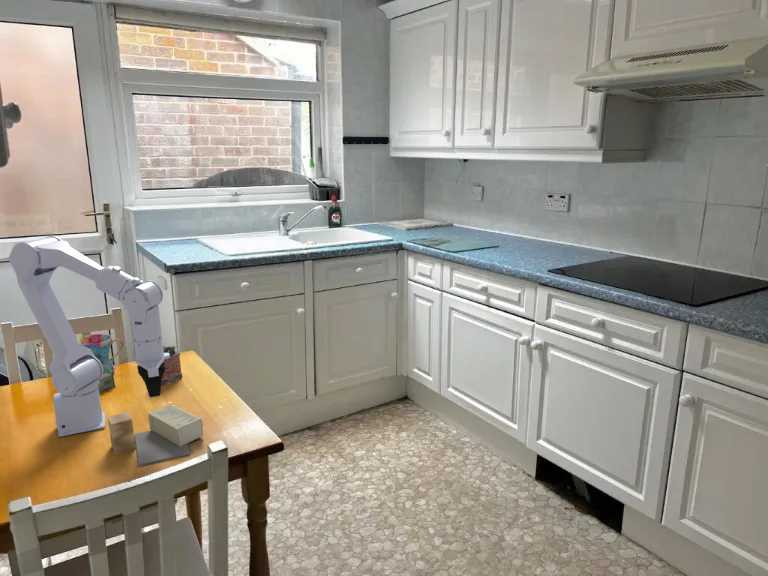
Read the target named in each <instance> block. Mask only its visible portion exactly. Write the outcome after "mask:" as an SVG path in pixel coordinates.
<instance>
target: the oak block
mask: <svg viewBox="0 0 768 576" xmlns="http://www.w3.org/2000/svg"><path fill="white" fill-rule="evenodd" d="M107 423H108V429H109V431H108V432H109V436H110V443H111V444H110V445H111V448H112V450H113V452H114V453H115V455H119V454H122V453H125V452H129V451H132V450H135V449H136V450H137V447H136V439H135V433H134V425H133V417H132V416H131V415H130V413H129V411H126V412H123V413H118V414H114V415H111V416H107Z"/></svg>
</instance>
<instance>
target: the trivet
mask: <svg viewBox="0 0 768 576" xmlns="http://www.w3.org/2000/svg"><path fill="white" fill-rule="evenodd" d="M134 439H135V447H136V454H137V462H138V467H142V466H147V465H150V464H155V463H159V462H163V461H169V460H172V459H177V458H182V457H185V456H190V455H191V452H190V448H189V445H188V444H189V443H187V444H185V445H182V446H178V445H176V444H174V443H173V442H171V441H169V440H167V439H166V438H164V437H162V436H161V435H159V434H157V433H155V432H154V431H152V430H146V431H142V432H138V433H137V432H136V433H134Z"/></svg>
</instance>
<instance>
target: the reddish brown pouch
mask: <svg viewBox="0 0 768 576" xmlns="http://www.w3.org/2000/svg"><path fill="white" fill-rule="evenodd" d="M163 350H164V353H169V354H170V358H168V359H165V360H164V363H165V367H166V369H165V372H164V374H163V377H162V382H161V387H162V386H166V385H168V384H172V383H174V381H175V382H177V381H178V379H179V380H181V379H183V373H182V369H181V368H182V367H181V365H182V364H181V357H180V356H181V352H180V351H179V350H176V345H175V344H171V345H163ZM180 378H181V379H180ZM176 380H177V381H176Z"/></svg>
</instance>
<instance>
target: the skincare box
mask: <svg viewBox="0 0 768 576" xmlns="http://www.w3.org/2000/svg"><path fill="white" fill-rule="evenodd" d="M147 415H148V416H147V417H148V423H149V431H151V430H152V431H154V432H155V433H157V434H159V435H161V436H162V437H164V438H166V439H167V440H169V441H171V442H173V443H174V444H176V445H178V446H182V445H185V444H189V443H192V442H193V441H195V440H198V439H199V438H201V437H203V436H204V429H203V427H204V426H203V419H202V418H201V417H198V416H197V415H195V414H192V413H190V412H189V411H186V409H185V410H184V409H183V408H181V407H178V405H175V404H168V405H166V406H163V407H161V408H157V409H156V410H152V411H150V412H148V414H147Z"/></svg>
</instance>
